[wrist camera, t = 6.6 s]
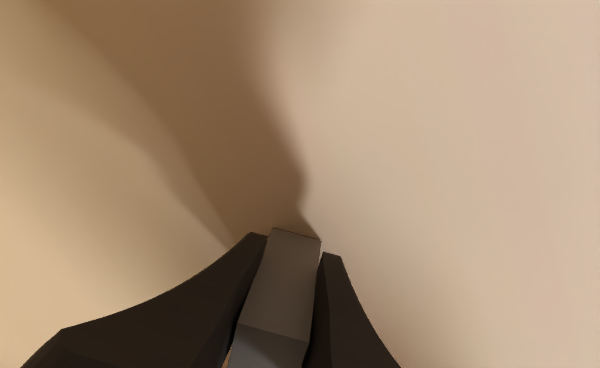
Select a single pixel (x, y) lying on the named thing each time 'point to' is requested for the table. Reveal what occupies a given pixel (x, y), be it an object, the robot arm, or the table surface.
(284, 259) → the orange and grey rod
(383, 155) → the table surface
